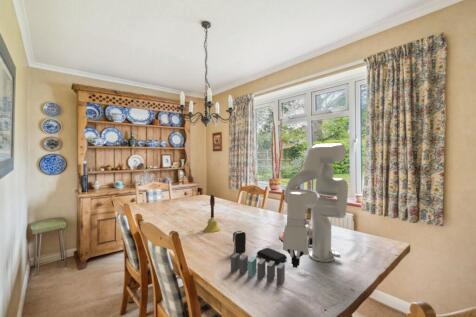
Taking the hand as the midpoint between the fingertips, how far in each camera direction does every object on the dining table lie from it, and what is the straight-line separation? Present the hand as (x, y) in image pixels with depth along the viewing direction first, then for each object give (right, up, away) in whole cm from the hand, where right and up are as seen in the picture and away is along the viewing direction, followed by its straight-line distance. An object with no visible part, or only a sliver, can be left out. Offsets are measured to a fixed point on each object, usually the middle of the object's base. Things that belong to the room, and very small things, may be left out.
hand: (295, 266), depth 96 cm
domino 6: (-5, -8, +4) cm, 11 cm away
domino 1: (-25, -8, +14) cm, 30 cm away
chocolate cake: (+17, -8, +54) cm, 57 cm away
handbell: (-42, -7, +72) cm, 83 cm away
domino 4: (-13, -8, +8) cm, 17 cm away
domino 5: (-9, -8, +6) cm, 14 cm away
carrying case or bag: (-6, -8, +27) cm, 29 cm away
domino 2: (-21, -8, +12) cm, 25 cm away
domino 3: (-17, -8, +10) cm, 21 cm away
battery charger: (-23, -8, +34) cm, 42 cm away
